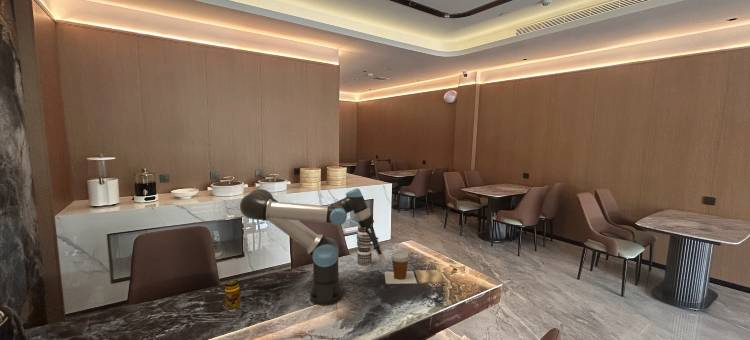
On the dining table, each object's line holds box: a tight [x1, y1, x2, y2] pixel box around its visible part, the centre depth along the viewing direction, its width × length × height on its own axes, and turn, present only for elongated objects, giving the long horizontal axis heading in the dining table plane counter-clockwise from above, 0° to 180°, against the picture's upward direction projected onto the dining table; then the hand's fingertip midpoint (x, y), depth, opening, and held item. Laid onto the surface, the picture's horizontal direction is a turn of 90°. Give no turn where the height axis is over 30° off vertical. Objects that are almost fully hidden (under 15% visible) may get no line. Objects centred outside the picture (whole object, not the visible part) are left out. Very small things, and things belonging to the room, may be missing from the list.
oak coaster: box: [414, 269, 447, 284], centre depth 169 cm, size 14×14×1 cm
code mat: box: [383, 270, 418, 285], centre depth 169 cm, size 16×14×1 cm
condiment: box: [224, 279, 242, 310], centre depth 140 cm, size 7×8×12 cm
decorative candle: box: [356, 224, 373, 268], centre depth 185 cm, size 9×9×25 cm
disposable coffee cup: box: [390, 251, 410, 279], centre depth 168 cm, size 10×10×12 cm
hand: (381, 255), depth 160 cm, fingers open, 13 cm apart
